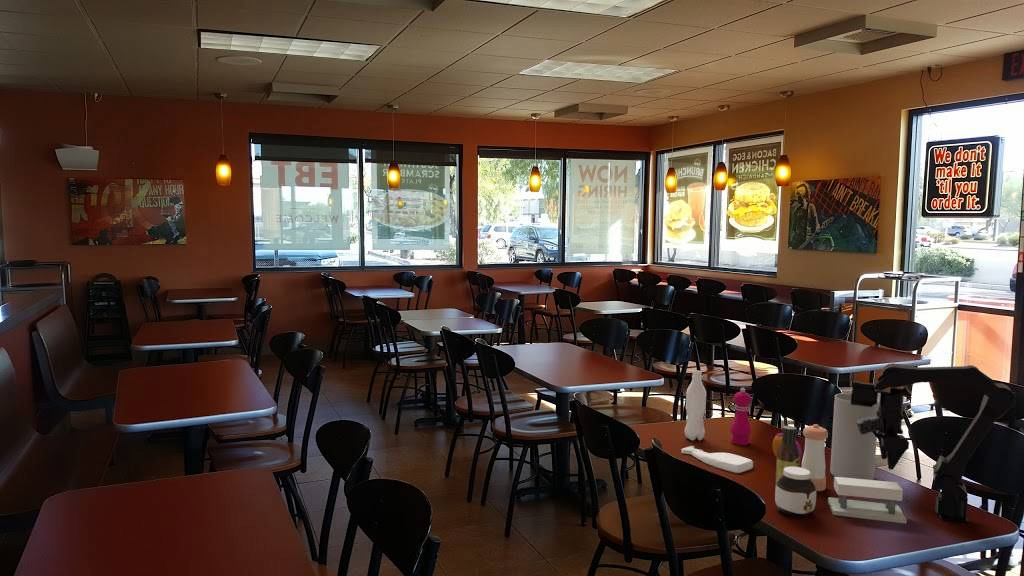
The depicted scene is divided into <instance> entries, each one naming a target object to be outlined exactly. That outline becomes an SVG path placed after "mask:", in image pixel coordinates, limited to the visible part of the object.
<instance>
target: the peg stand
mask: <svg viewBox="0 0 1024 576" xmlns="http://www.w3.org/2000/svg"><path fill="white" fill-rule="evenodd" d="M896 502H897V500H887V499H885V503H882V502H874V501H864V500H856V499H855V500H854V499H849V498H848V496H846V495H838V497H828V498H827V504H828V505H830V506H829V508H830V511H831V513H832V515H833V516H840V517H848V518H849V517H850V518H856V519H865V520H873V521H880V522H881V521H883V522H891V523H897V524H898V523H899V524H907V518H906V516H905V514H904V513H903V511H902V509H901V507H900V506H899V505H898V504H896Z"/></svg>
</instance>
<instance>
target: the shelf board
mask: <svg viewBox="0 0 1024 576" xmlns="http://www.w3.org/2000/svg"><path fill="white" fill-rule="evenodd" d="M833 489H834V490H835V492H836V494H837V495H838V496H839V495H846V496H847V497H856V498H857V497H858V498H866V499H867V498H869V499H878V500H886V499H887V500H896V502H897V501H898V502H899V501H900V502H903V494H904V493H903V492H904V490H903V488H902V487H901V486H900V484H899V483H898V482H897V481H886V480H885V481H883V480H875V479H873V480H866V479H855V478H844V477H835V476H833Z"/></svg>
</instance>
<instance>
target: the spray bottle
mask: <svg viewBox="0 0 1024 576" xmlns="http://www.w3.org/2000/svg"><path fill="white" fill-rule="evenodd" d="M681 454H687V455H691V456H693V457H694V458H696V459H697V460H700V461H701V462H702V463H705V464H706V465H709V466H711V467H714V468H718V469H720V470H724V471H727V472H730V473H733V474H741V473H744V472H746V471H749V470H752V469H753V468H754V461H753V460H752V459H750V458H747V457H744V456H741V455H738V454H734V453H729V452H711V453H710V452H707V451H706V452H705V451H704V450H703V449H698V448H695V446H694V445H690V446H686V447H684V448H681Z"/></svg>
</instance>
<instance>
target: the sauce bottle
mask: <svg viewBox="0 0 1024 576" xmlns="http://www.w3.org/2000/svg"><path fill="white" fill-rule="evenodd" d="M797 429H798V428H797V427H795V426H792V425H783V426H782V427H781V433H782V443H781V445H780V446H779V448H778V450H777V457H776V466H775V467H776V470H775V485H776V484H777V481H778V480H779V479H780V477H782V476H783V475H784V474H783V473H784V468H785V467H800V461H801V459H800V454H799V451H798V448H797V445H796V441H797V431H798V430H797Z"/></svg>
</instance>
